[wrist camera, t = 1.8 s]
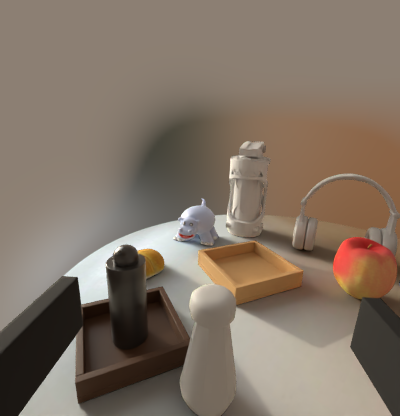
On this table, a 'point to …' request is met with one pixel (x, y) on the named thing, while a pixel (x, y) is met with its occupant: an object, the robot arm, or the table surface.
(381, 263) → the apple
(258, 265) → the pale tray
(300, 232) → the headphones
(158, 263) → the bread roll
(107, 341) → the dark tray
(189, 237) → the hippopotamus toy
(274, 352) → the table surface
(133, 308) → the pepper mill
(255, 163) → the lantern
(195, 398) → the salt shaker
